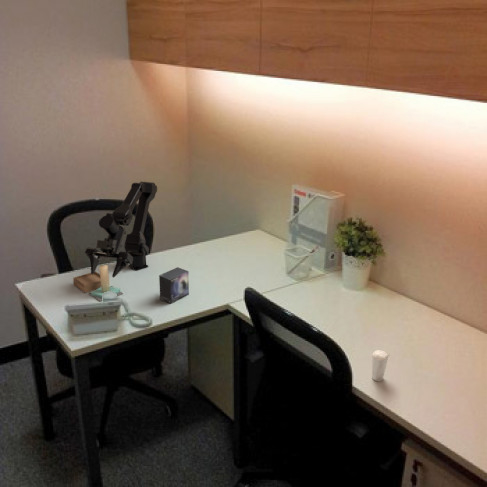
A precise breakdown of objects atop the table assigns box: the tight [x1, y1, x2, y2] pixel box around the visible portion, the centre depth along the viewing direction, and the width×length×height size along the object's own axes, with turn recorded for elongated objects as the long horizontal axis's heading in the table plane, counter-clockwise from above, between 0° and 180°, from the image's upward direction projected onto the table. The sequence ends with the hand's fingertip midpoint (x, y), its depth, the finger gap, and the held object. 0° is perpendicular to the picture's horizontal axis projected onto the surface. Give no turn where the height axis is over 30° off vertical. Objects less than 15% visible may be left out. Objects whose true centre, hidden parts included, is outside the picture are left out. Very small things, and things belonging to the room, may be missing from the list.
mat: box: [88, 285, 124, 302], centre depth 215 cm, size 10×9×1 cm
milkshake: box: [371, 349, 390, 382], centre depth 162 cm, size 4×5×10 cm
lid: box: [90, 264, 121, 298], centre depth 213 cm, size 8×8×12 cm
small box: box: [158, 266, 190, 305], centre depth 212 cm, size 11×6×10 cm, turn 143°
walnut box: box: [72, 270, 101, 294], centre depth 222 cm, size 10×10×3 cm
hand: (102, 275), depth 211 cm, fingers open, 9 cm apart
